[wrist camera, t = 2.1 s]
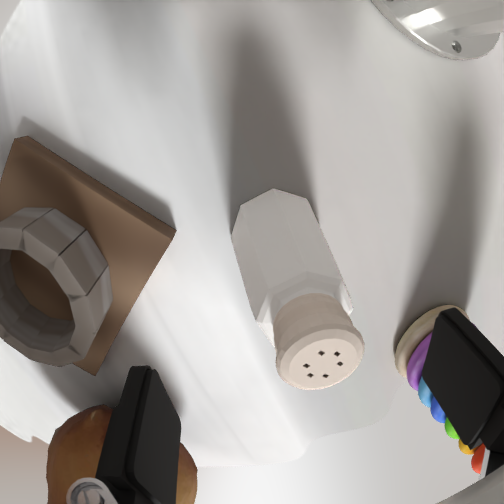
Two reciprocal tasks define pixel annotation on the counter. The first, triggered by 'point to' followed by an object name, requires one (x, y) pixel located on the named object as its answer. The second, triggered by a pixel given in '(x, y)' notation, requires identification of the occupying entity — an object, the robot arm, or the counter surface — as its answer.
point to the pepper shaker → (296, 290)
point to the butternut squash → (97, 456)
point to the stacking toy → (410, 367)
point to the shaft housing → (69, 258)
